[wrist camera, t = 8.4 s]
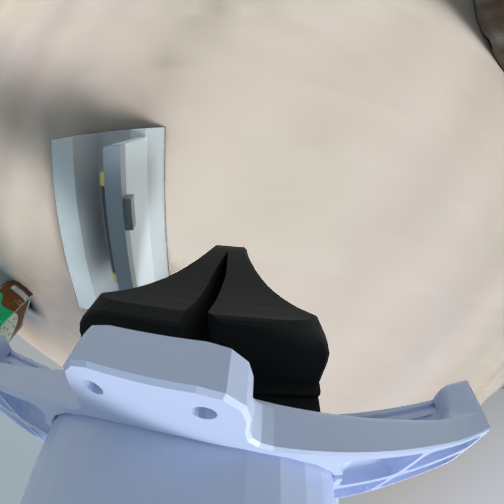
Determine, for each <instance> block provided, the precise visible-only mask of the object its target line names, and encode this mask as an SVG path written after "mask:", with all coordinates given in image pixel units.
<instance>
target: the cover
mask: <svg viewBox="0 0 504 504" xmlns="http://www.w3.org/2000/svg"><path fill="white" fill-rule="evenodd" d="M147 142H148V137H137V138H133V139H129V140H126V141H122V142H119V143H115V144H112V145H108V146H105V147H103V170H104V187H105V200H106V211H107V220H108V228H109V236H110V243H111V249H112V256H113V262H114V267H115V273H116V278H117V283H118V288H119V291H120V290H126V289H131V288H135V287H139V286H143V285H147V284H150V283H153V282H155V276H154V267H153V258H152V248H151V236H150V222H149V204H148V173H147Z"/></svg>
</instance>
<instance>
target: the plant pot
mask: <svg viewBox="0 0 504 504" xmlns="http://www.w3.org/2000/svg"><path fill="white" fill-rule="evenodd" d="M474 5H475V11H476V15H477V19H478V22H479V25H480V27H481V30H482V32H483V34H484V35H485V36H486V37H487V38H488V39H489V41H490V43H491V46H492V53H493V54H494V56H495V58H496V60H497V61H498V63H499V64H500V66H501V67H502V68H503V70H504V0H474Z"/></svg>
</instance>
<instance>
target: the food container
mask: <svg viewBox="0 0 504 504" xmlns="http://www.w3.org/2000/svg"><path fill="white" fill-rule="evenodd" d="M32 295H33V294H32V293H31V292H30V291H29V290H28V289H27V288H26V287H24V286H23V285H22V284H20V283H19V282H16V281H14V280H10V281H7V282H6V283H4V284H3V285H2V286H0V333H1V334H2V335H3V336H4V337H5V338H6V340H7V341H8V343H9V342H10V341H11V340H12V338H13V337H14V336H15V334H16V333H17V332H18V331H19V330H20V328H21V327H22V326H23V323H24V319H25V316H26V313H27V310H28V307H29V304H30V301H31V298H32Z"/></svg>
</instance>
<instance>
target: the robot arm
mask: <svg viewBox="0 0 504 504" xmlns="http://www.w3.org/2000/svg"><path fill="white" fill-rule="evenodd" d="M80 333H81V339H80V340H79V342H78V343H77V345H76V346H75V348H74V349H73V351H72V353H71V354H70V356H69V357H68V359H67V360H66V362H65V364H64V365H63V367H64V370H55V369H51V368H48V367H46V366H44V365H42V364H39V363H37V362H35V361H33V360H31V359H28V358H27V357H24V356H22V355H20V354H18V353H16V352H15V351H13V350H11V347H10V345H9V343H8V341H7V340H6V338H5V337H4V336H3V335H2V334H1V333H0V411H1V412H2V413H3V414H4V415H6V416H7V417H8V418H10V419H11V420H13V421H14V422H15V423H16V424H18V425H19V426H20V427H22V428H23V429H25V430H26V431H28V432H29V433H30V434H32V435H33V436H35V437H36V438H38V439H39V440H41V441H42V442H44V444H43V447H42V449H41V451H40V453H39V456H38V458H37V460H36V463H35V465H34V468H33V470H32V473H31V475H30V478H29V481H28V483H27V486H26V489H25V492H24V495H23V498H22V501H21V504H339V498H343V497H348V496H352V495H356V494H361V493H365V492H368V491H372V490H375V489H379V488H382V487H385V486H388V485H392V484H395V483H398V482H400V481H403V480H406V479H409V478H411V477H414V476H417V475H419V474H422V473H425V472H427V471H429V470H432V469H434V468H437V467H439V466H442V465H444V464H446V463H449V462H451V461H452V460H453V459H455V458H456V457H457V456H459V455H460V454H461V453H463V452H464V451H465V450H467V449H468V448H469V447H470V446H471V445H473V444H474V443H475V442H476V441H478V440H479V439H480V438H481V437H482V436H483V435H484V434H485V433H487V432H488V431H489V429H490V426H489V424H488V422H487V419H486V417H485V415H484V413H483V411H482V409H481V406H480V404H479V402H478V400H477V398H476V396H475V394H474V393H473V391H472V389H471V387H470V385H469V383H468V381H467V380H465V381H461V382H457V383H453V384H449V385H447V386H445V387H443V388H442V389H441V390H440V391H439V392H438V393H437V394H436V395H435V397H434V399H433V400H431V401H426V402H422V403H417V404H412V405H407V406H402V407H396V408H391V409H384V410H377V411H370V412H361V413H351V414H339V415H336V414H329V413H322V412H320V406H319V399H318V396H319V395H320V385H319V381H320V379H321V376H322V374H323V372H324V369H325V367H326V364H327V362H328V357H329V349H328V343H327V340H326V336H325V334H324V331H323V329H322V327H321V325H320V322H319V320H318V318H317V316H315V315H313V314H311V313H308V312H306V311H304V310H302V309H299V308H297V307H296V306H294V305H292V304H290V303H289V302H287V301H286V300H284V299H283V298H281V297H280V296H279V295H277V294H276V293H275V292H274V291H272V290H271V289H270V288H269V287H268V286H267V285H266V284H265V283H264V281H263V280H262V279H261V277H260V276H259V275H258V273H257V272H256V270H255V269H254V267H253V265H252V263H251V261H250V259H249V257H248V254H247V250H246V249H245V248H244V247H232V246H220V245H216V246H215V247H214V248H212V249H211V250H210V251H208V252H207V253H206V254H205V255H203V256H202V257H201V258H199V259H198V260H196V261H195V262H193V263H192V264H190V265H189V266H187V267H186V268H184V269H182V270H180V271H179V272H177V273H175V274H172V275H170V276H168V277H166V278H163V279H161V280H158V281H155V282H153V283H150V284H147V285H143V286H139V287H135V288H131V289H126V290H120V291H113V292H105V293H101V294H100V295H99V296H98V298H97V299H96V300H95V301H94V303H93V304H92V305H91V307H90V308H89V309H88V310H87V312H86V313H85V314H84V316H83V317H82V319H81V322H80Z"/></svg>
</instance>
